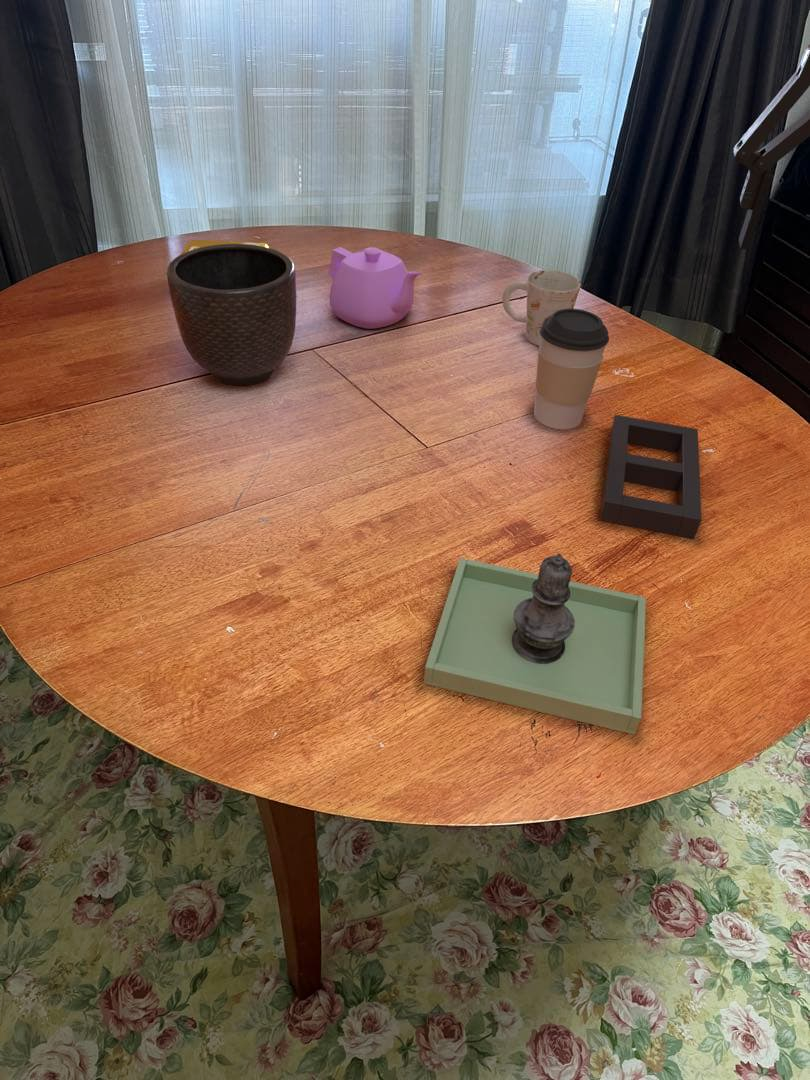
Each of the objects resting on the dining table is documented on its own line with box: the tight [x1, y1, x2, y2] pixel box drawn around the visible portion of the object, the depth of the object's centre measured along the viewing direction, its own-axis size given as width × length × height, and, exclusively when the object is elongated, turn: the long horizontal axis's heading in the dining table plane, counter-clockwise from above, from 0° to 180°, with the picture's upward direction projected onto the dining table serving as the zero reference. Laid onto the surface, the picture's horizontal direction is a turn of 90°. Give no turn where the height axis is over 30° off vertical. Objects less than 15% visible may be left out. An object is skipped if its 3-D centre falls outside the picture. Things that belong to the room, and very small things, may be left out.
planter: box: [166, 244, 297, 387], centre depth 109 cm, size 17×17×16 cm
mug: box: [501, 269, 582, 347], centre depth 124 cm, size 8×13×10 cm, turn 61°
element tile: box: [180, 239, 269, 255], centre depth 137 cm, size 15×15×5 cm
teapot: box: [328, 246, 422, 330], centre depth 127 cm, size 13×20×11 cm
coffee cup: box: [533, 308, 610, 430], centre depth 103 cm, size 9×9×15 cm
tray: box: [423, 557, 647, 736], centre depth 75 cm, size 20×16×2 cm
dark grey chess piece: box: [512, 553, 575, 664], centre depth 71 cm, size 6×6×12 cm
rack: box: [599, 414, 702, 540], centre depth 96 cm, size 11×20×3 cm, turn 165°
